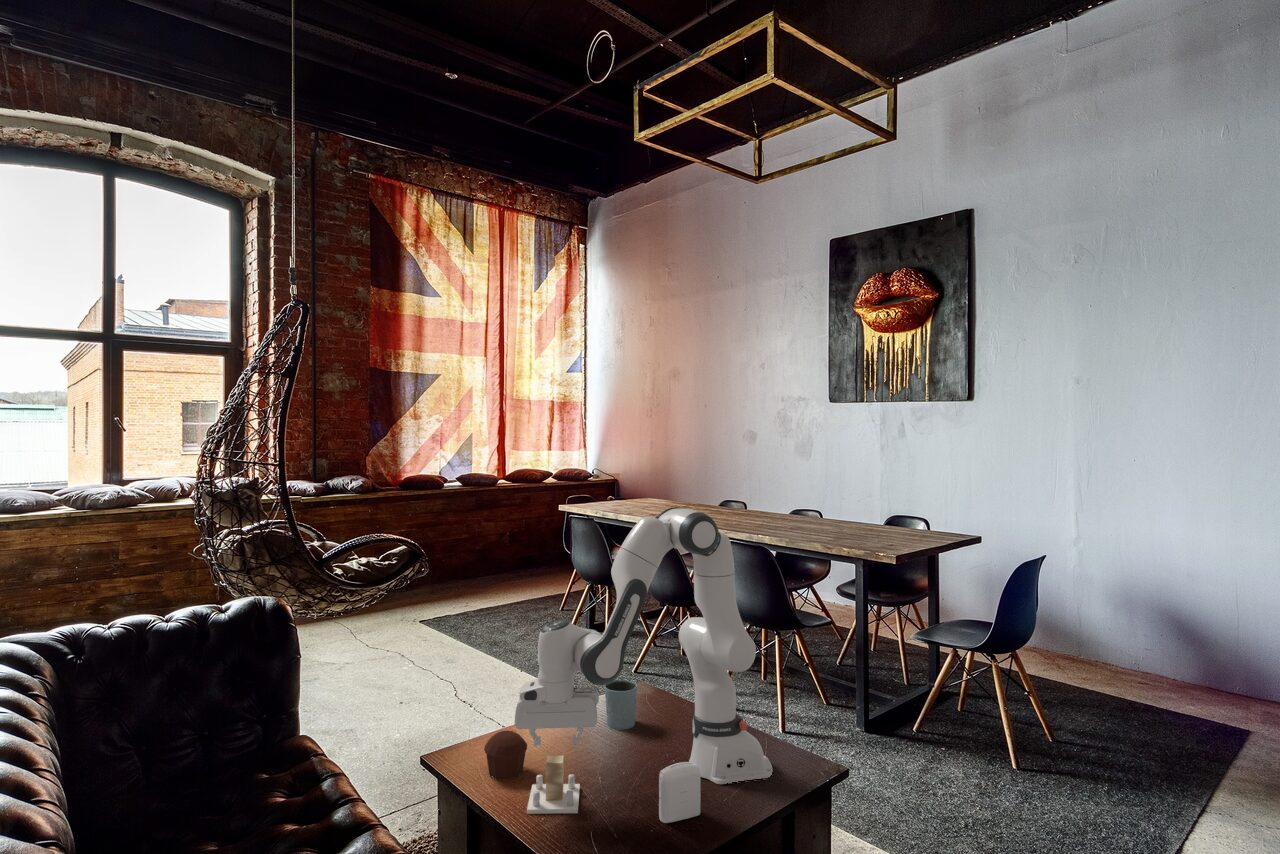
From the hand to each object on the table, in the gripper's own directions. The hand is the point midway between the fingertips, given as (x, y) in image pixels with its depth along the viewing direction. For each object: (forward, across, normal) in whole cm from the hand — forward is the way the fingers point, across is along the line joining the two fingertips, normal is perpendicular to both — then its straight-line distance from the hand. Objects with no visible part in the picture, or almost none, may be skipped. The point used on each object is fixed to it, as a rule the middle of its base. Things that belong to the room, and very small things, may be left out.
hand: (556, 744), depth 173 cm
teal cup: (+15, -16, -45) cm, 50 cm away
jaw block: (+12, +1, 0) cm, 13 cm away
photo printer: (+14, -29, +8) cm, 34 cm away
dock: (+14, +1, 0) cm, 14 cm away
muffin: (+14, +15, -15) cm, 25 cm away
